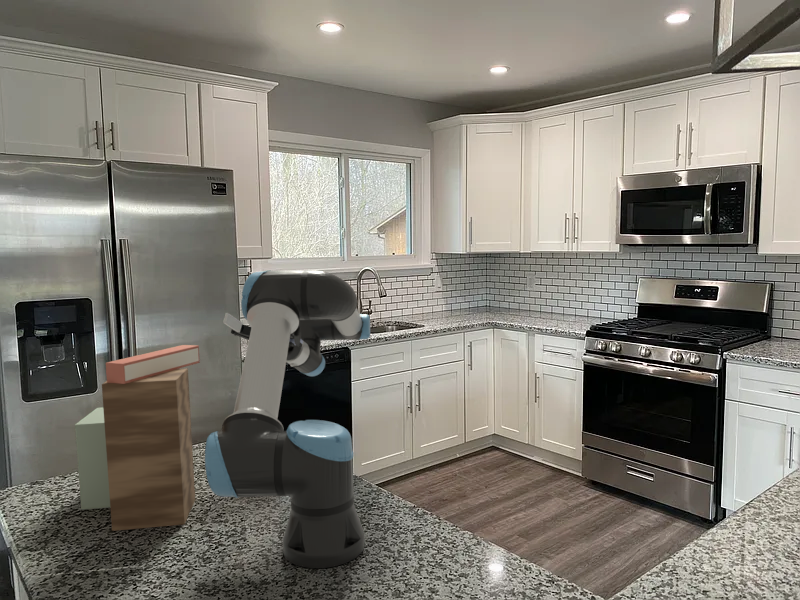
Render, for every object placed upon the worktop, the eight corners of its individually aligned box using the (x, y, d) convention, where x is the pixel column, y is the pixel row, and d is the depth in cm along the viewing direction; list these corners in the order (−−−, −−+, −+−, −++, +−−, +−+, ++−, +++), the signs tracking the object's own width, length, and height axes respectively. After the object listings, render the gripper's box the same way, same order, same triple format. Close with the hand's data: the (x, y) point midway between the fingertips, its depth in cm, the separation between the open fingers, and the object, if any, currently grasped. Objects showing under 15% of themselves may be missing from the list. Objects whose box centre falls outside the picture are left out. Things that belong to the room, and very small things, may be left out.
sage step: (139, 504, 132) (133, 420, 131) (81, 509, 131) (74, 424, 129) (154, 480, 146) (150, 404, 144) (102, 484, 144) (97, 407, 143)
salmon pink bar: (183, 361, 139) (182, 344, 139) (199, 362, 138) (198, 345, 137) (106, 382, 119) (105, 362, 119) (124, 383, 117) (123, 363, 117)
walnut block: (184, 524, 122) (175, 380, 120) (112, 530, 120) (101, 384, 118) (195, 500, 134) (187, 368, 132) (129, 505, 132) (120, 371, 129)
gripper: (327, 363, 159) (288, 334, 141) (248, 358, 168) (202, 331, 150) (333, 337, 162) (295, 305, 144) (255, 334, 171) (211, 303, 153)
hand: (248, 318), depth 147 cm, fingers open, 13 cm apart
